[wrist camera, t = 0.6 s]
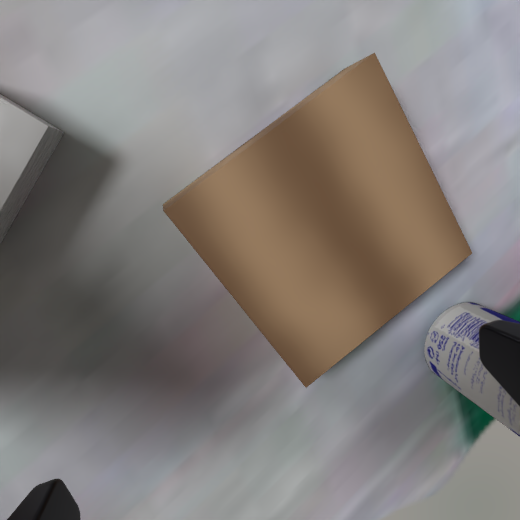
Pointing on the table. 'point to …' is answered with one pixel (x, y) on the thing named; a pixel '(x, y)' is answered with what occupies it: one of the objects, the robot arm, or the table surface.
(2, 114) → the gray rectangular block
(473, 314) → the beverage can
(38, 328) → the table surface
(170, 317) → the table surface
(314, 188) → the stand
